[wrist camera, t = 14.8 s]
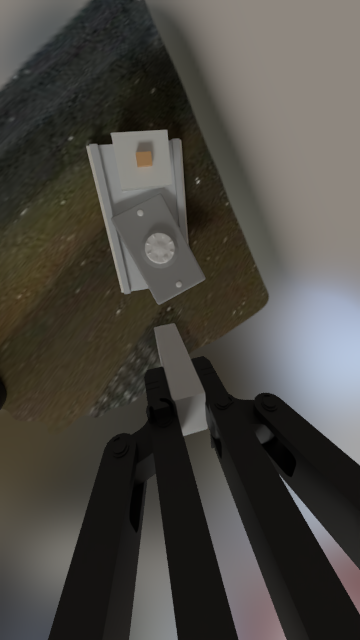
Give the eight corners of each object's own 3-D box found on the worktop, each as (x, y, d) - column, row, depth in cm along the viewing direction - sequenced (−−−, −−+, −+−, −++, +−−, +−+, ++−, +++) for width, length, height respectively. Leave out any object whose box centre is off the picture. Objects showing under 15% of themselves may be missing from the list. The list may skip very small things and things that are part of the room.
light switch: (161, 188, 31) (207, 278, 33) (159, 207, 37) (199, 282, 39) (108, 214, 30) (158, 305, 32) (115, 229, 36) (157, 305, 38)
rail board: (121, 290, 40) (121, 315, 31) (87, 148, 30) (72, 125, 21) (189, 279, 42) (206, 299, 33) (179, 141, 31) (200, 118, 23)
